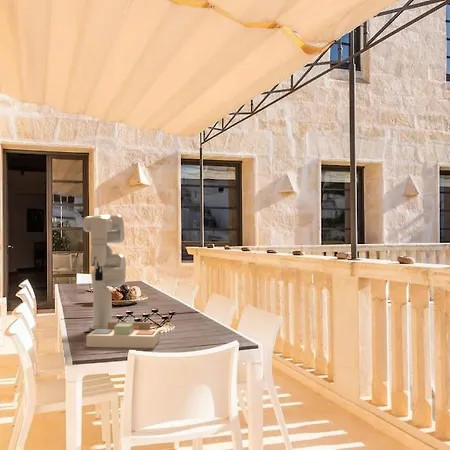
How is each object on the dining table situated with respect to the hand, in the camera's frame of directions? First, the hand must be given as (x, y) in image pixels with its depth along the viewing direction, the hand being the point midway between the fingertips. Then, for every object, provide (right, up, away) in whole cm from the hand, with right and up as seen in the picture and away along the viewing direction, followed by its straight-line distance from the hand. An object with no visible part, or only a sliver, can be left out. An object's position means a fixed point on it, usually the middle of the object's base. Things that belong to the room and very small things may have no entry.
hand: (98, 280), depth 246 cm
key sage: (+15, -23, -15) cm, 31 cm away
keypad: (+15, -27, -14) cm, 34 cm away
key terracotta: (+25, -26, -16) cm, 39 cm away
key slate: (+5, -26, -14) cm, 30 cm away
